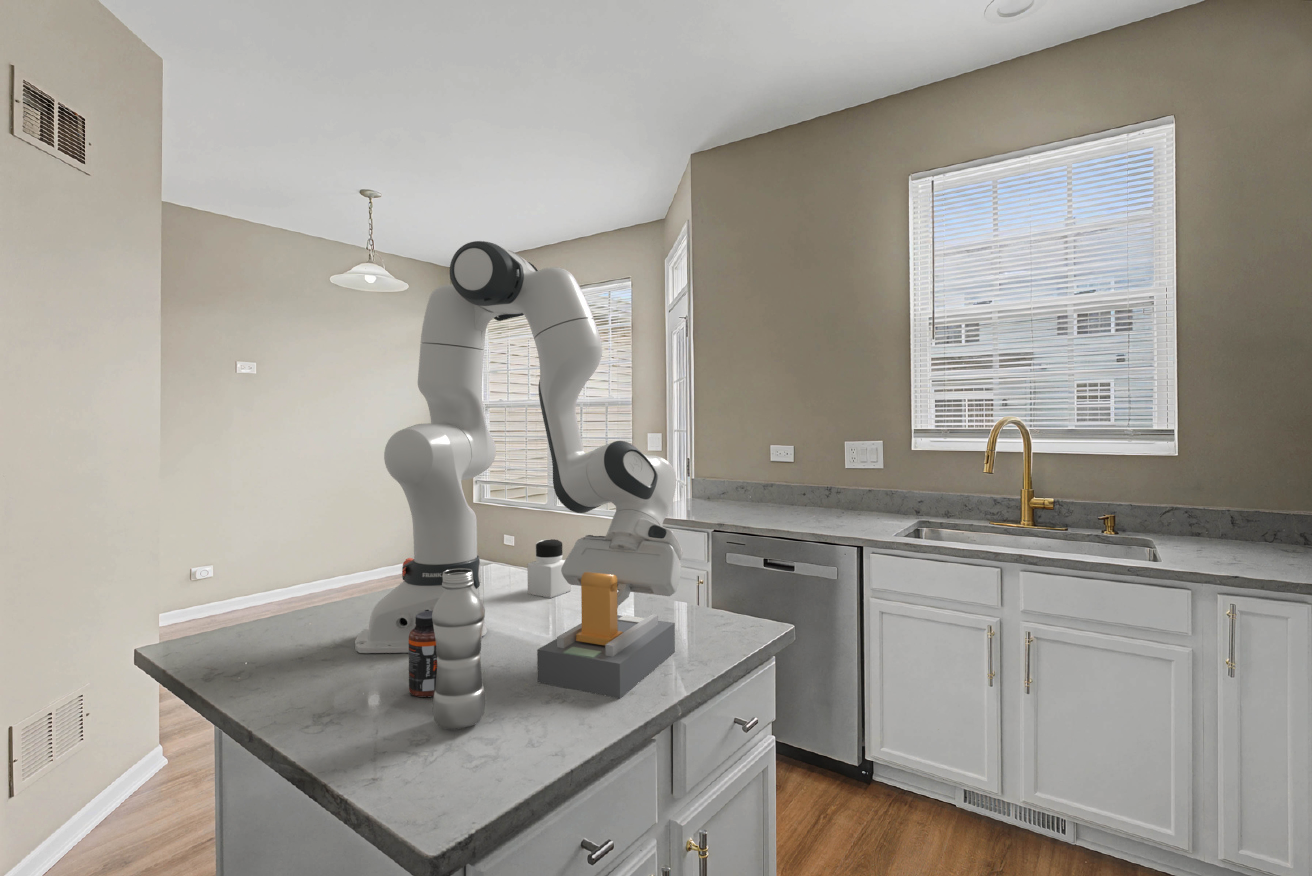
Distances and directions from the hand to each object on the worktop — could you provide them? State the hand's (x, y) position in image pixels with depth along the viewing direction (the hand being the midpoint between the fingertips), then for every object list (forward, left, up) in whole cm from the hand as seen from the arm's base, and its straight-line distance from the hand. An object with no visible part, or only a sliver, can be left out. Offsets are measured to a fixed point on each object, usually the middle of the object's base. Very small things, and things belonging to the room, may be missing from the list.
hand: (605, 611), depth 102 cm
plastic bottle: (-21, -14, -9) cm, 27 cm away
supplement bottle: (-26, -2, -10) cm, 28 cm away
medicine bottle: (-6, +48, -10) cm, 50 cm away
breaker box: (+1, +1, -9) cm, 9 cm away
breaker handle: (-1, -2, -4) cm, 4 cm away
